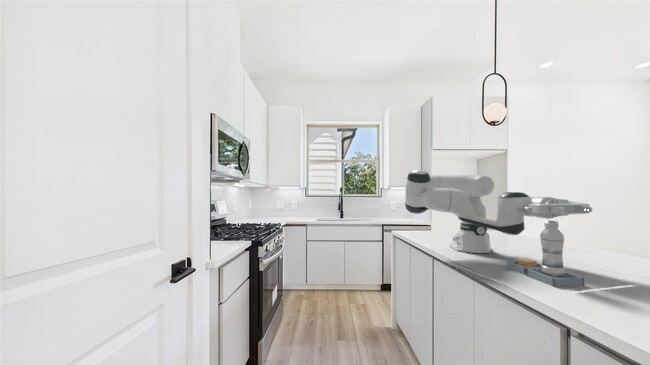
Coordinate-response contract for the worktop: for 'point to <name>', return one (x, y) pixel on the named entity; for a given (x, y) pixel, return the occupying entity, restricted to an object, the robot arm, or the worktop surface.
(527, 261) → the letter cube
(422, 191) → the robot arm
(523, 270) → the blue-gray square tray
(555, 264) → the plastic bottle
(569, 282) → the tray
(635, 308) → the worktop surface
